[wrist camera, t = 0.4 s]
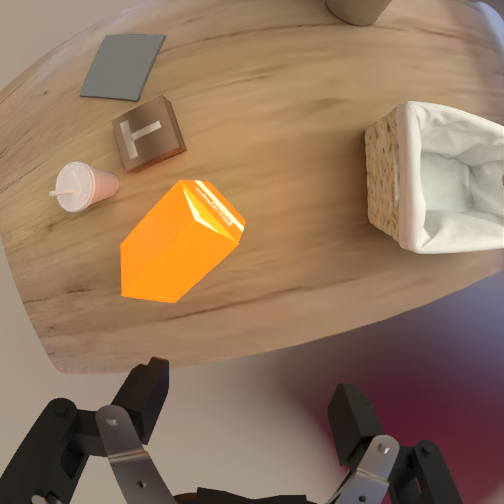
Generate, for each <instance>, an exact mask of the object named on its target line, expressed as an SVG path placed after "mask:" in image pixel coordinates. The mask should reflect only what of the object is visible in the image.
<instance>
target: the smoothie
mask: <svg viewBox="0 0 504 504" xmlns="http://www.w3.org/2000/svg"><path fill="white" fill-rule="evenodd" d="M118 188H119V181H118V178H117V177H116V175H114V174H112V173H109V172H106V171H102V170H99V169H96V168H92V167H89V166H88V165H87V164H86V163H83V162H71V163H69V164H67V165H66V166H64V167H63V169H62V170H61V171H60V173H59V175H58V178H57V181H56V191H50V192H49V195H50V196H57V200H58V202H59V204H60V205H61V207H62V208H63V209H65V210H66V211H68V212H79V211H82V210H84V209H85V208H87V207H88V206H89V205H91V204H93V203H96V202H98V201H101V200H103V199H106V198H109V197H111V196H113V195H115V194H116V192H117V190H118Z"/></svg>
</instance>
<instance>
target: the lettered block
mask: <svg viewBox="0 0 504 504" xmlns="http://www.w3.org/2000/svg"><path fill="white" fill-rule="evenodd" d="M112 124H113V128H114V133H115V137H116V141H117V144H118V148H119V151H120V155H121V158H122V161H123V164H124V167H125V170H126V172H140V171H142V170H144V169H146V168H148V167H150V166H152V165H155V164H157V163H159V162H161V161H164V160H166V159H168V158H170V157H173V156H175V155H177V154H180V153H182V152H184V151H187V150H186V147H185V144H184V141H183V138H182V135H181V132H180V129H179V126H178V123H177V120H176V117H175V114H174V111H173V108H172V105H171V102H170V101H168V100H167V99H166V98H165V97H164V96H163V95H161V96H159V97H157V98H154V99H152V100H150V101H148V102H146V103H144V104H142V105H140V106H138V107H136V108H134V109H132V110H131V111H129V112H127V113H125V114H123V115H121V116H119V117H118V118H116V119H114V120H112Z"/></svg>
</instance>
